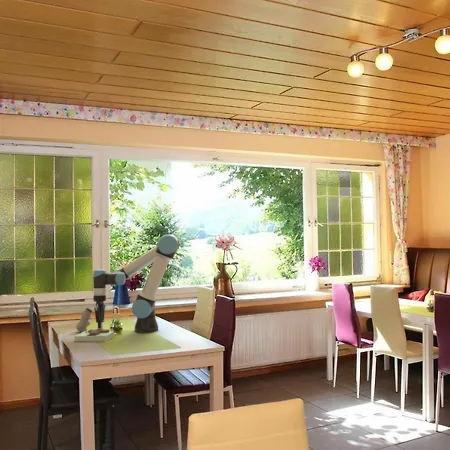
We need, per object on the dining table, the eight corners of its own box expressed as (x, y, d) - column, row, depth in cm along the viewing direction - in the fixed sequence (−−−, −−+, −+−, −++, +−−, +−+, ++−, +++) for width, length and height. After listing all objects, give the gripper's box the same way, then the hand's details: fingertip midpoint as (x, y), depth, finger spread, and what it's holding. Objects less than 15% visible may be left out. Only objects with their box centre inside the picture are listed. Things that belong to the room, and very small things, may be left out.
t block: (109, 335, 324) (109, 329, 324) (102, 339, 312) (102, 333, 312) (90, 335, 326) (90, 329, 326) (83, 339, 314) (82, 333, 314)
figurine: (88, 333, 334) (87, 309, 334) (73, 332, 336) (73, 309, 336) (94, 330, 343) (94, 307, 343) (80, 330, 345) (79, 307, 345)
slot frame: (114, 336, 322) (114, 331, 322) (105, 341, 307) (105, 336, 307) (84, 336, 324) (84, 331, 324) (74, 341, 310) (74, 336, 310)
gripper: (97, 293, 333) (98, 330, 332) (89, 296, 320) (90, 335, 320) (109, 293, 332) (109, 331, 331) (101, 296, 319) (102, 335, 319)
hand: (100, 333), depth 326 cm, fingers closed
